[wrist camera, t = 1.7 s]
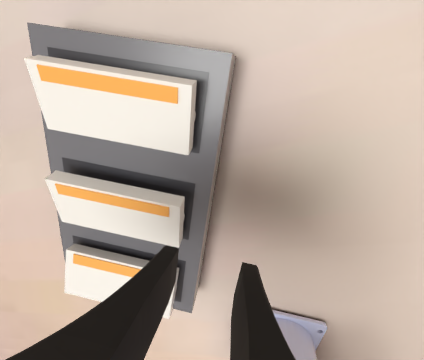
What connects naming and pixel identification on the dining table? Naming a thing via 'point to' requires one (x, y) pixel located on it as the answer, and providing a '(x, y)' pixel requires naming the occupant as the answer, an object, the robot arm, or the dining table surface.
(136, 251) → the switch panel
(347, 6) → the dining table surface
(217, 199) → the dining table surface
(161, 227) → the rocker middle
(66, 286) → the rocker
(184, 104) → the rocker
